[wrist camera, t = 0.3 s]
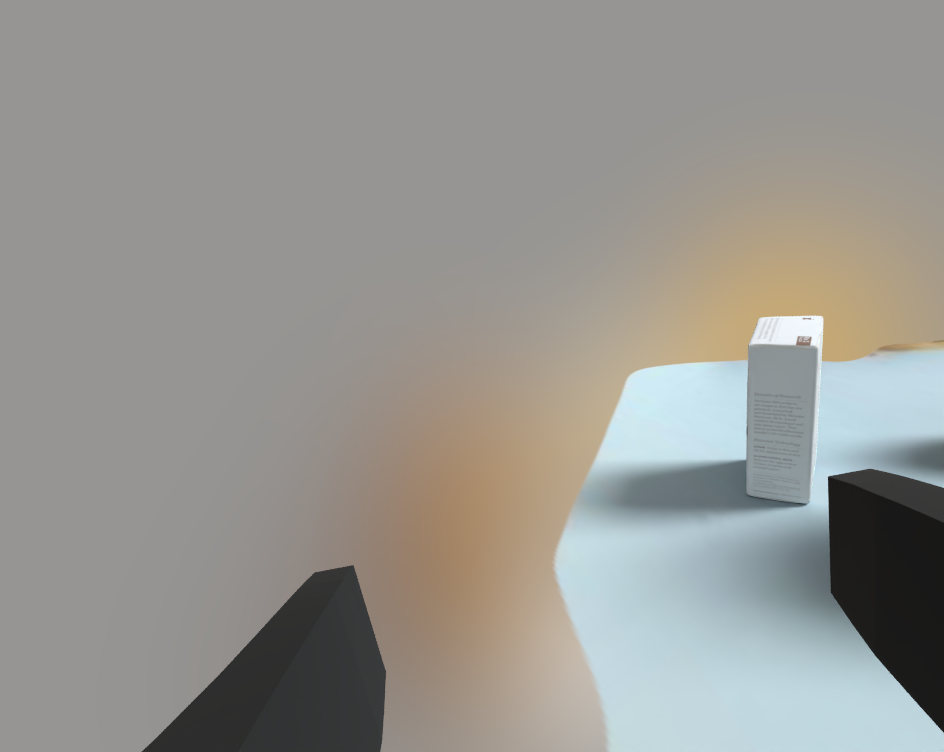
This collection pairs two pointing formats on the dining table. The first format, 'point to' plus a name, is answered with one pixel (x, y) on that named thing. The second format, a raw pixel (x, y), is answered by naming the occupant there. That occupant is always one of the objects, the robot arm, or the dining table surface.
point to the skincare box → (783, 407)
